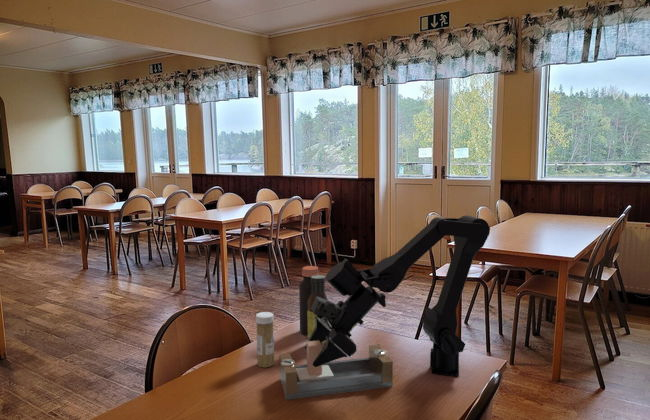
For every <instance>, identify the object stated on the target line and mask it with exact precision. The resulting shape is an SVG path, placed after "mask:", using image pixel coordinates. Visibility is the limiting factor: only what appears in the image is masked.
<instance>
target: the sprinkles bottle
mask: <svg viewBox="0 0 650 420" xmlns="http://www.w3.org/2000/svg"><path fill="white" fill-rule="evenodd" d="M274 316H275V315H274V313H272V312H271V311H270V312H269V311H260V312H258V313H256V315H255V323H256V353H257V362H256V363H257V364H256V365H257V366H259V367H260V368H270V367H273V365H275V342H274V341H275V339H274V338H275V337H274V321H275V320H274V319H275V317H274Z"/></svg>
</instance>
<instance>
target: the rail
mask: <svg viewBox="0 0 650 420" xmlns="http://www.w3.org/2000/svg"><path fill="white" fill-rule="evenodd" d="M295 364H296V362H295V359H293V358H292V355H291V353H284V354H279V379H280V383H281V387H282V389H283V390H282V392H283V393H284V396H285V397H284V398H285V400H286V401H288V400H296V399H304V398H312V397H319V396H320V397H321V396H329V395H336V394H344V393H352V392H360V391H369V390H370V391H371V390H377V389H383V388H384V389H386V388H392V387H393V382H394V381H393V379H394V377H393V374H394V373H393V372H394V371H393V370H394V369H393V367H394V366H393V359H391V357H390V355H388V351H387V350H386V349H383V347H381V346H380V345H379V344H371V345H370V344H369V345H368V357H362V358H360V357H359V358H351V359H350V358H349V359H341V360H333V361H331V362H328V363H325V364H323V365H322V366H324V365H328V366H329V367H330V369H331V371H332V373H333V375H334V378H328V379H319V380H311V381H302V382H298V381H297V371H296V369H297V368H306V367H307V363H306V364H298V365H297V364H296V365H295Z"/></svg>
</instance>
